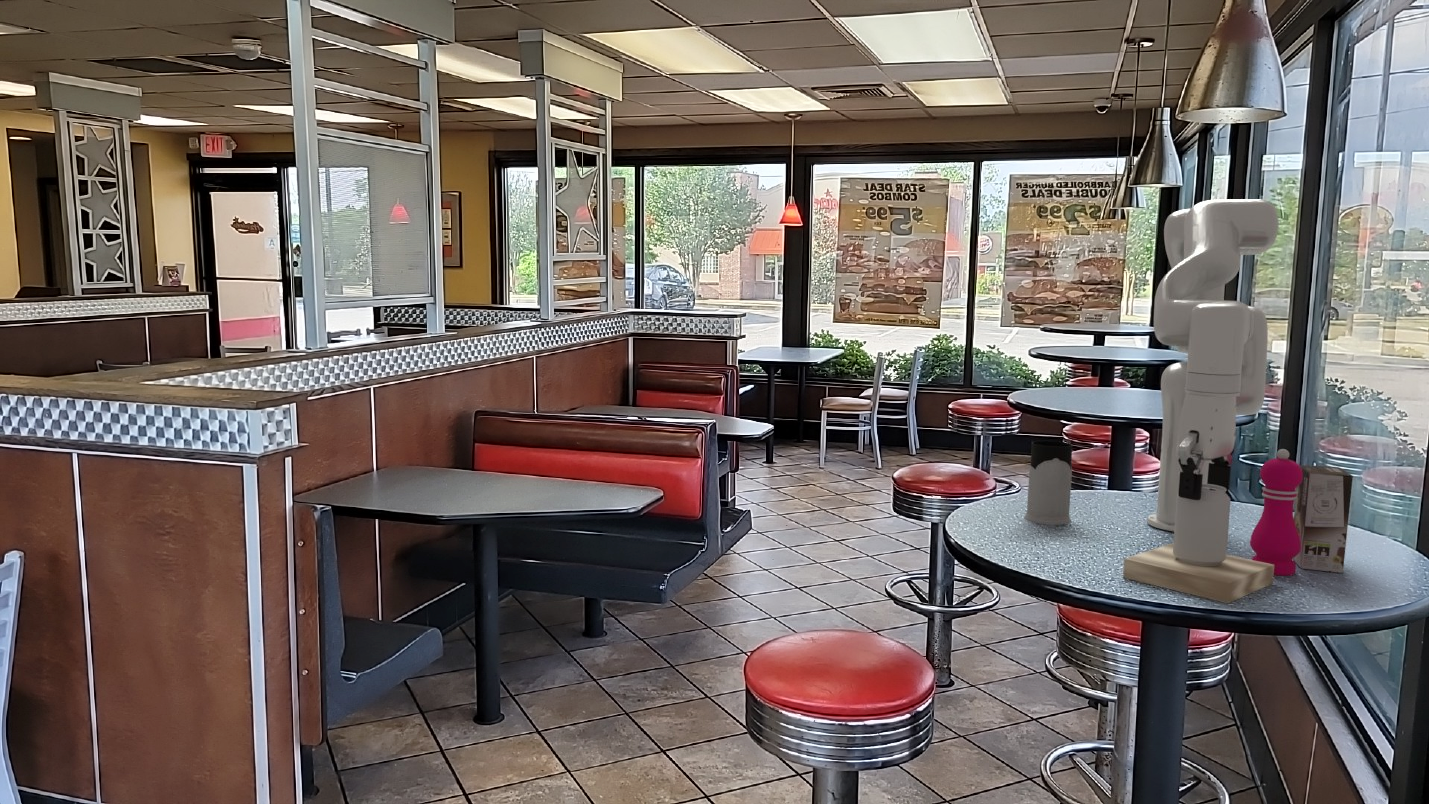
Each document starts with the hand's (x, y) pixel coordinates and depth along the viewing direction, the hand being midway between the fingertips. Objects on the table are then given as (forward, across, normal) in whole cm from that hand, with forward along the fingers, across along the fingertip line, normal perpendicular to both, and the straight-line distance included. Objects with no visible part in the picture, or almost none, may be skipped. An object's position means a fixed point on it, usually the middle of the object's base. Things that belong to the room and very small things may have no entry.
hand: (1203, 493), depth 156 cm
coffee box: (+14, -25, +8) cm, 30 cm away
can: (+11, 0, 0) cm, 11 cm away
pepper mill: (+14, -15, +5) cm, 21 cm away
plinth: (+14, +1, 0) cm, 14 cm away
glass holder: (+15, -19, -39) cm, 46 cm away
